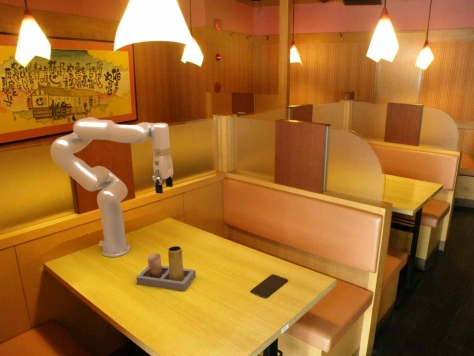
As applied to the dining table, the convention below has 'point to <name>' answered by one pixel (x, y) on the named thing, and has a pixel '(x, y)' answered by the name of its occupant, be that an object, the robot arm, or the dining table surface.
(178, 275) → the vase
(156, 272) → the walnut peg
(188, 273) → the slot rack
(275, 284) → the smartphone
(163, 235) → the dining table surface
